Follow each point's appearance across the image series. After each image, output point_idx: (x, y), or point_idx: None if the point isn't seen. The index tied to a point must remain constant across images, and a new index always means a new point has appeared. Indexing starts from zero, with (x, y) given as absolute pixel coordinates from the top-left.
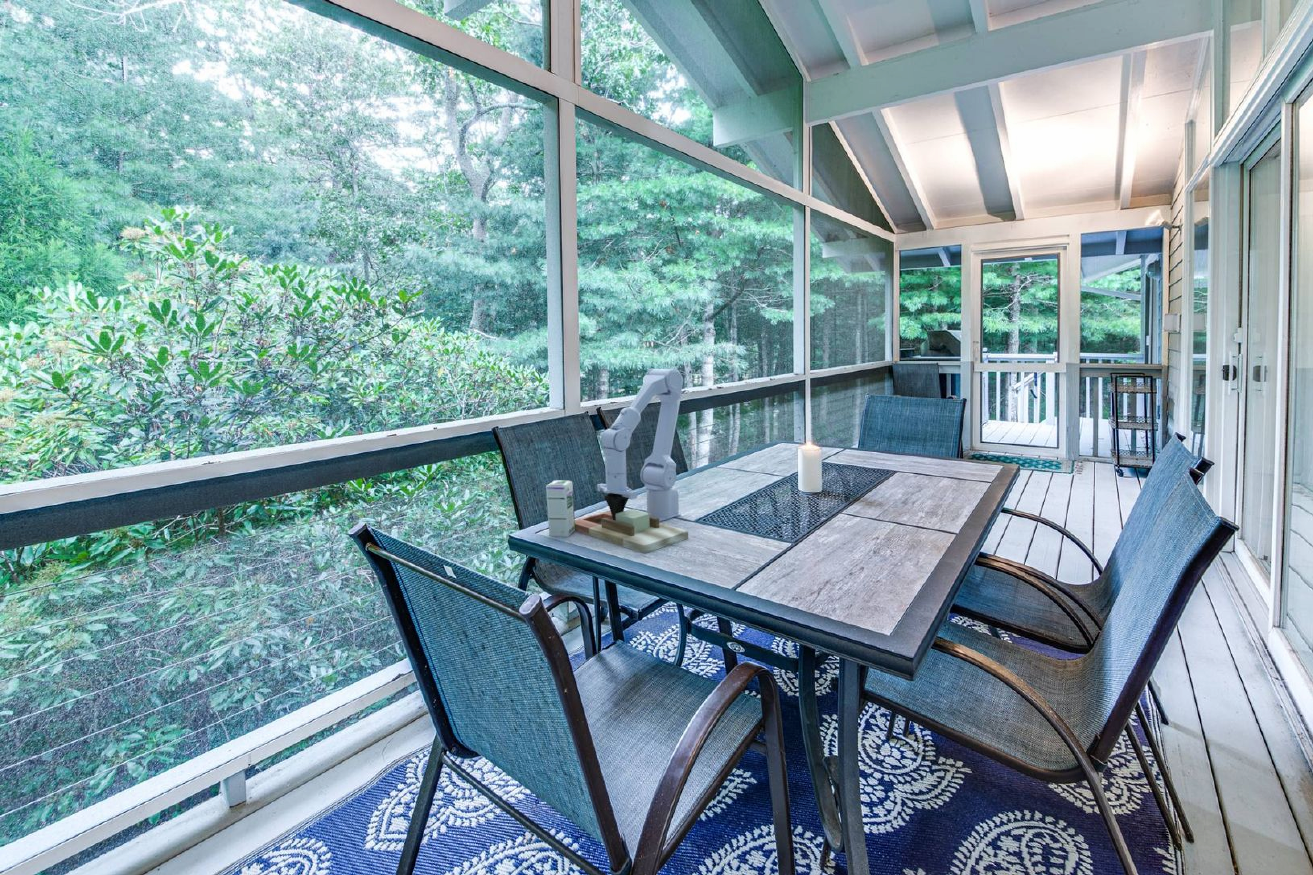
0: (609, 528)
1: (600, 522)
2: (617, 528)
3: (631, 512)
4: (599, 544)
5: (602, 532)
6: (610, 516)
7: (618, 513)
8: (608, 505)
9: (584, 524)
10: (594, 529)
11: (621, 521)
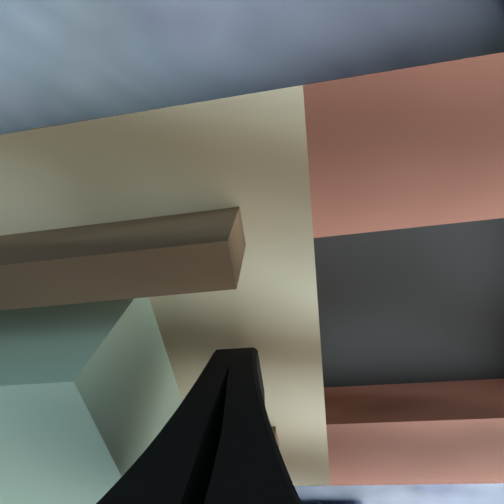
0: (122, 223)
1: (483, 327)
2: (2, 245)
3: (41, 487)
4: (7, 16)
5: (84, 121)
6: (457, 411)
7: (70, 405)
8: (284, 477)
9: (455, 118)
10: (220, 108)
11: (31, 335)
